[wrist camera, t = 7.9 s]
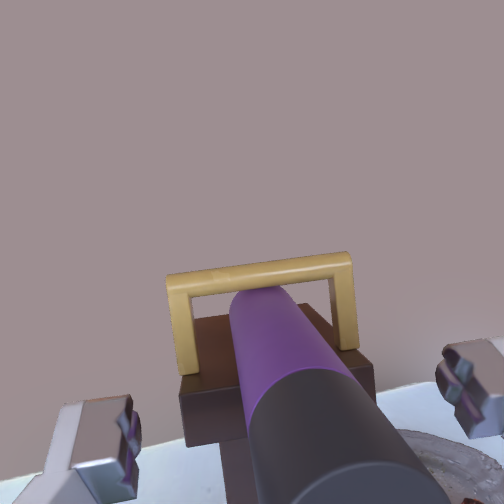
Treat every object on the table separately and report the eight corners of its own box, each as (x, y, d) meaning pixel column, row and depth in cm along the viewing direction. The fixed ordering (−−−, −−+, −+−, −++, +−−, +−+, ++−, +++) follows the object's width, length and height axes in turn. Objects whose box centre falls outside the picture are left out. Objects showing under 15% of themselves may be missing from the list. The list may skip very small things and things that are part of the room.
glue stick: (463, 615, 6) (457, 446, 5) (279, 655, 6) (258, 481, 5) (296, 339, 17) (290, 277, 17) (233, 348, 17) (225, 285, 17)
